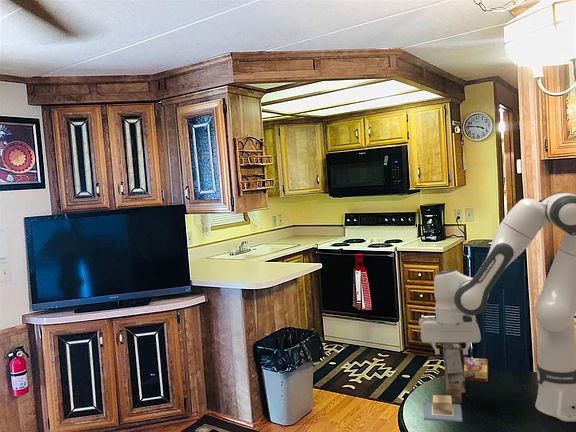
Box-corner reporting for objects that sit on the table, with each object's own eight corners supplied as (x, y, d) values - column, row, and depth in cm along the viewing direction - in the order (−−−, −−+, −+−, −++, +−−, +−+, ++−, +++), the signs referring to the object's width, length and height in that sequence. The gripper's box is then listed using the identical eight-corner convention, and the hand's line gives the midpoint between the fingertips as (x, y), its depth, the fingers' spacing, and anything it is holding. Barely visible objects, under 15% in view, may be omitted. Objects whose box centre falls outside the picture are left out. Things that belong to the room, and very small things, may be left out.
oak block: (451, 407, 167) (451, 395, 166) (452, 415, 161) (451, 403, 161) (433, 406, 168) (432, 394, 168) (433, 413, 163) (432, 402, 162)
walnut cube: (461, 397, 176) (460, 383, 175) (462, 403, 171) (461, 389, 171) (446, 396, 177) (445, 383, 177) (447, 402, 172) (446, 388, 172)
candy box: (487, 383, 187) (488, 368, 201) (486, 372, 186) (487, 358, 200) (463, 381, 190) (465, 366, 204) (462, 370, 190) (464, 356, 204)
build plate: (460, 406, 169) (460, 404, 169) (462, 422, 157) (462, 419, 157) (424, 404, 172) (424, 402, 172) (423, 419, 161) (423, 417, 161)
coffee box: (466, 392, 179) (463, 349, 178) (448, 392, 180) (445, 349, 180) (462, 383, 188) (459, 341, 187) (445, 383, 189) (442, 342, 189)
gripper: (418, 318, 171) (421, 356, 172) (480, 317, 166) (482, 357, 167) (418, 313, 178) (420, 351, 178) (477, 312, 172) (480, 351, 173)
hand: (451, 354), depth 172 cm, fingers open, 8 cm apart
